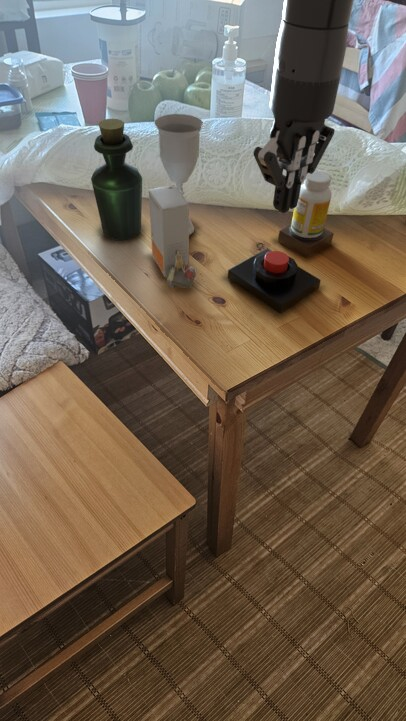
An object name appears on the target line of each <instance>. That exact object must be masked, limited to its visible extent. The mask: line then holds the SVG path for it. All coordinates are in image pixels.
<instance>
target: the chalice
mask: <svg viewBox="0 0 406 721" xmlns="http://www.w3.org/2000/svg"><path fill="white" fill-rule="evenodd" d="M154 125H155V127H156V129H157V131H158V134H157V135H158V156H159V159H160V161H161V164H162V167H163V168H164V170H165V172H166V174H167V176H168V178H169V180H170V181H171V182H172V183H174V184H175V187H176V188H177V189H178V190H179V192H181V194H182V195H183V196H184V195H185V192H184V189H183V184H184V183H187V182H188V181H189V180H190V178H191V176H192V174H193V172H194V170H195V169H196V167H197V163H198V161H199V158H200V132H201V130H202V129H203V127H204V121H203V120H202V119H201V118H199V117H197V116H195V115H194V116H193V115H190V114H184V113H171V114H165V115H162V116H161V115H160V117H157V118H156V119H155V120H154ZM194 231H195V227H194V225H193V223H192V220H191V218H190V217H189V236H190V235H192V234H193V233H194Z"/></svg>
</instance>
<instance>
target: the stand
mask: <svg viewBox="0 0 406 721" xmlns="http://www.w3.org/2000/svg"><path fill="white" fill-rule="evenodd" d="M334 235H335V233H334V232H333V231H331V230H329V229H327V228H325V227H324V229H323V232H322V234H321V235H320V236H318V237H315V238H303V237H300V236H298V235H296V234H295V233H294V232H293V231H292V229H291V224H289V225H287V226H285V227H284V228H281V229H280V230H279V231H278V238H277V242H278V243H280V244H281V245H283V246H285V247H286V248H289V249H290V250H291V251H292V252H293V251H294V252H295V253H297V254H299V255H301V256H302V257H304V258H306V259H309V258H310V257H312V256H314V255H315V254H317V253H318V252H320V251H322V250H324V249H325V248H327V247H329V246H330V245H332V242H333V239H334Z"/></svg>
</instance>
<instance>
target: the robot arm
mask: <svg viewBox="0 0 406 721" xmlns="http://www.w3.org/2000/svg"><path fill="white" fill-rule="evenodd" d="M353 5H354V0H284V1H283V9H282V14H281V15H282V17H281V22H280V27H279V32H278V36H277V40H276V46H275V55H274V63H273V72H272V80H271V89H270V97H269V109H270V111H271V113H272V115H273V119H274V120H273V123H272V127H271V129H270V132H269V140H268V142H267V143H266V144H265V145H264V146H263V147H260V146H256V147H255V148H254V150H253V157H254V159H255V162H256V164H257V166H258V168H259V170H260V173H261V175H262V177H263V179H264V181H265V182H266V183H269V184H270V185H273V186H274V193H273V202H272V205H273V208H274V209H275V210H276V211H279V212H281V213H282V214H286V213H287V212H289V211H290V210H293V209H294V208H295V207H297V203H298V199H299V194H300V189H301V185H303V183H304V181H305V179H306V175H307V174H308V173H310V174H312V173H313V172H314V171H315V170H317V167H318V166H319V164H320V162H321V160H322V157H323V156H324V154H325V153H326V150H327V149H328V146H329V144H330V143H331V141H332V139H333V137H334V135H335V131H336V130H335V128H333V127H330V126H329V125H326V124H325V122H326V120H327V119H329V118H330V117H331V116H332V115H333V113H334V109H335V104H336V100H337V95H338V90H339V87H340V81H341V75H342V70H343V66H344V61H345V57H346V50H347V44H348V32H349V25H350V19H351V17H352V16H351V15H352V11H353ZM284 171H285V172H286V174H285V175H284Z"/></svg>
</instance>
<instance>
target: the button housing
mask: <svg viewBox="0 0 406 721" xmlns="http://www.w3.org/2000/svg"><path fill="white" fill-rule="evenodd" d="M270 251H272V249H270V248H268V247H267V248H265V249H263V250H261V251H260V252H258V253H256V254H254V255H252V256H250V257H248V258H247V259H245V260H243V261H242V262H240V263H237V264H236V265H234V266H232V267H231V268H228V270H227V280H229V281H231V282H232V283H234V284H235V285H237V286H238V287H240V288H241V289H242V290H244V291H245V292H247V293H249V294H250V295H252V296H253V297H255V298H256V299H258V300H259V301H260V302H262V303H263V304H265V305H267V306H268V307H270V309H272V310H274V311H275V312H277V313H278V314H282V313H283V312H285V311H286V310H288V309H289V308H291V307H293V306H294V305H296V304H298V303H299V302H300V301H302V300H304V299H305V298H306V297H308V296H309V295H311V294H312V293H314V292H317V290H318V289H320V285H321V281H322V280H321V279H320V278H318V277H317V276H315V275H313V274H311V273H310V272H308V271H307V270H305V269H304V268H302V267H300V266H299V265H298V264H297V262H296V261H295V259H294V258H293V257H291V256H289V255H288V257H289V262H288V268H287V271H286V272H284V273H279V274H275V273H270V272H268V271H266V270H265V269H264V259H265V255H266V254H267V253H268V252H270Z"/></svg>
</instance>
